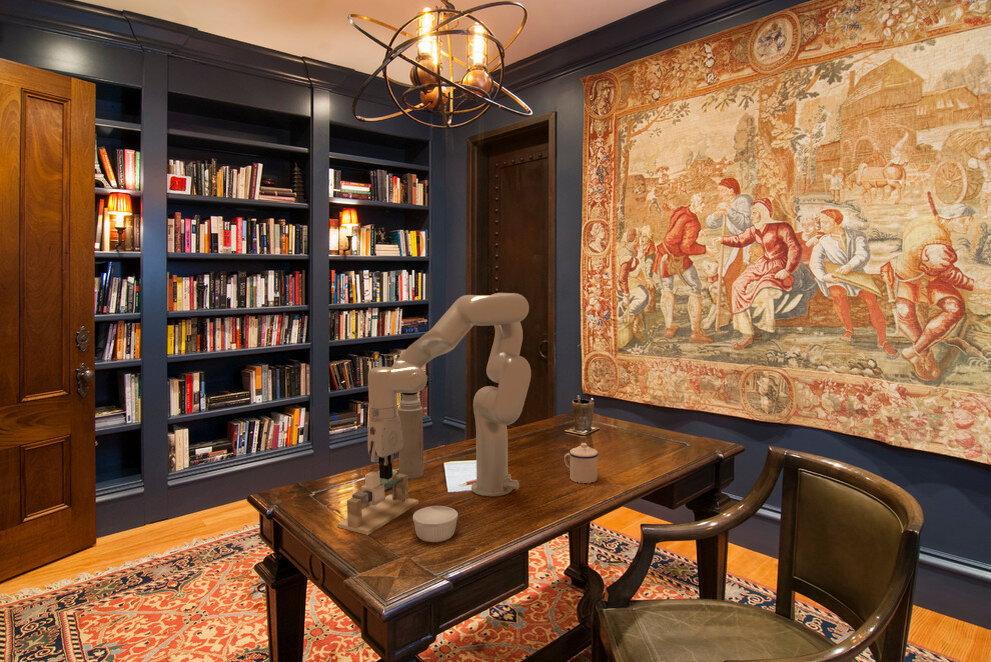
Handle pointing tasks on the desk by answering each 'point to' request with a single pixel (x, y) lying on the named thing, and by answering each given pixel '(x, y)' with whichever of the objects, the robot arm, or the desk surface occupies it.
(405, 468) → the thermos bottle
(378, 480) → the marker sleeve
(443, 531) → the ramekin
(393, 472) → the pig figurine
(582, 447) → the teacup with lid
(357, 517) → the wooden toy assembly
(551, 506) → the desk surface
